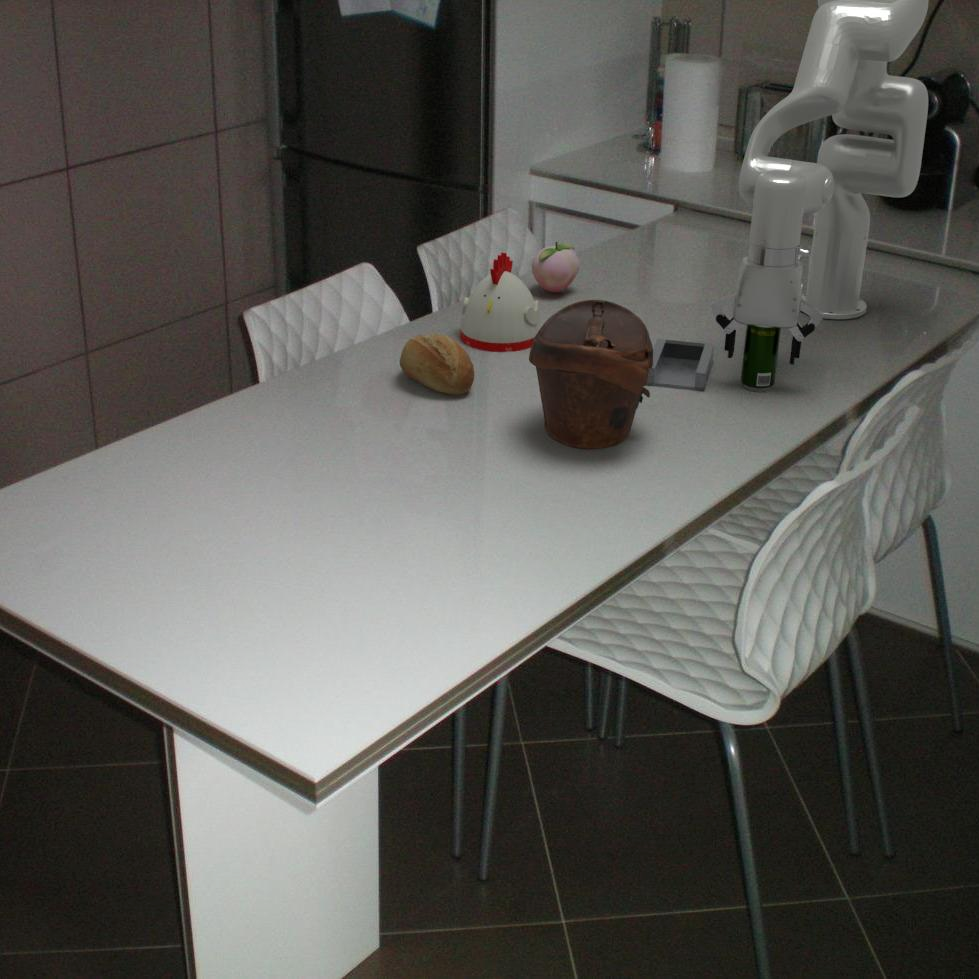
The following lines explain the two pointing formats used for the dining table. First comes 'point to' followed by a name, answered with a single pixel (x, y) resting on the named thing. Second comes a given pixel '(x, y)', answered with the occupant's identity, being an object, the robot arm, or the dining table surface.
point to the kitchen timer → (500, 312)
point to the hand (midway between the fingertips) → (761, 358)
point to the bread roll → (438, 363)
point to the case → (591, 372)
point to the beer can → (760, 357)
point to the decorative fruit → (555, 267)
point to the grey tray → (680, 364)
